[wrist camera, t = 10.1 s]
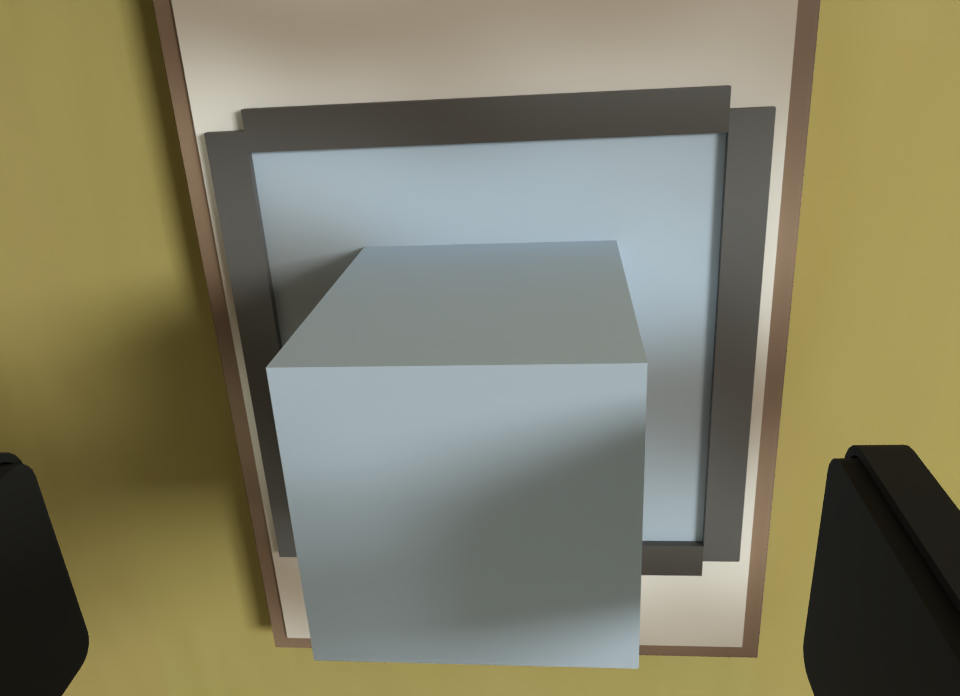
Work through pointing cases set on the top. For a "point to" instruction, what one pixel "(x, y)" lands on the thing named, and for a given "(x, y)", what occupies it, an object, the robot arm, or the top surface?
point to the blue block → (469, 456)
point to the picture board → (521, 223)
